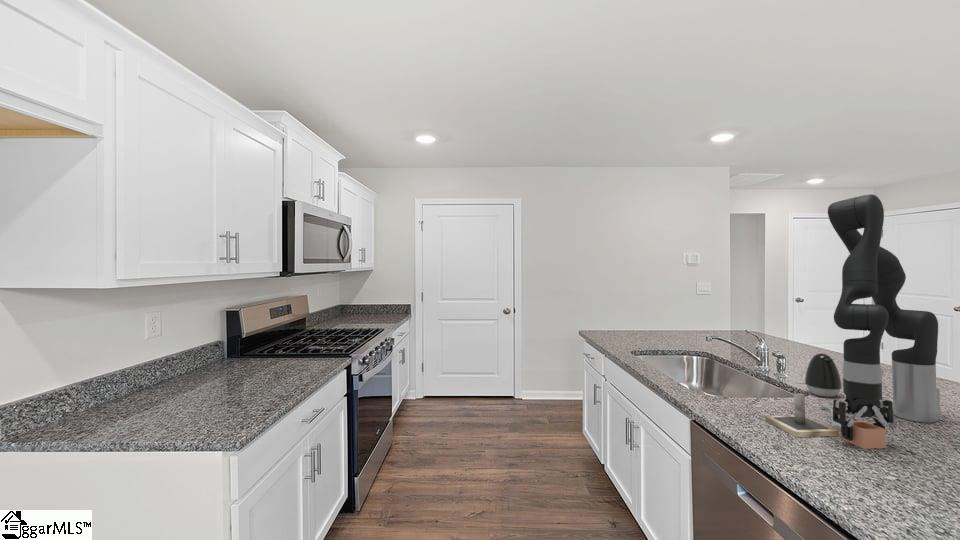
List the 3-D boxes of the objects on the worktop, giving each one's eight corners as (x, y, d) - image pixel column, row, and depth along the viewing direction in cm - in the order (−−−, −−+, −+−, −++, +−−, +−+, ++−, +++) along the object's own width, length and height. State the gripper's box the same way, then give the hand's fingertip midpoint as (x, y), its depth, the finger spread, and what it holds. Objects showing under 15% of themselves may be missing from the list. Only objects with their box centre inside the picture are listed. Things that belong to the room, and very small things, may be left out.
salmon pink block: (863, 438, 109) (863, 420, 109) (886, 448, 103) (885, 429, 103) (842, 439, 109) (841, 421, 109) (863, 449, 103) (863, 430, 103)
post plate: (803, 419, 123) (802, 387, 123) (838, 436, 111) (838, 400, 111) (765, 421, 123) (764, 388, 123) (796, 437, 111) (795, 401, 111)
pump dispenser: (815, 398, 141) (814, 356, 141) (799, 390, 151) (798, 350, 151) (849, 400, 139) (848, 357, 139) (830, 391, 149) (829, 350, 149)
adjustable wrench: (844, 434, 113) (844, 428, 113) (815, 428, 118) (815, 422, 118) (847, 410, 131) (847, 404, 131) (822, 405, 136) (822, 400, 136)
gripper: (873, 373, 110) (875, 432, 110) (823, 375, 110) (824, 433, 110) (903, 381, 102) (904, 444, 102) (848, 383, 102) (850, 446, 102)
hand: (863, 438), depth 106 cm, fingers open, 8 cm apart
